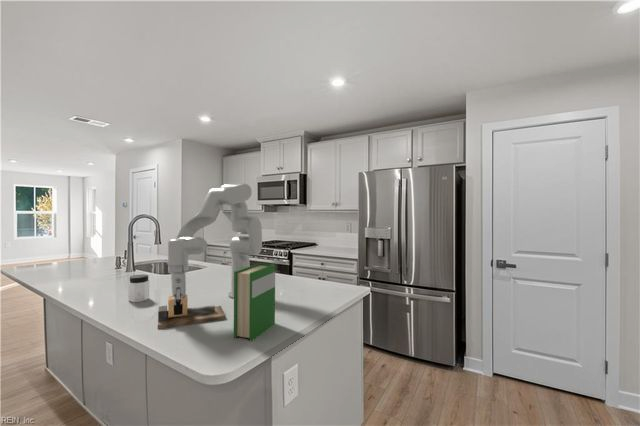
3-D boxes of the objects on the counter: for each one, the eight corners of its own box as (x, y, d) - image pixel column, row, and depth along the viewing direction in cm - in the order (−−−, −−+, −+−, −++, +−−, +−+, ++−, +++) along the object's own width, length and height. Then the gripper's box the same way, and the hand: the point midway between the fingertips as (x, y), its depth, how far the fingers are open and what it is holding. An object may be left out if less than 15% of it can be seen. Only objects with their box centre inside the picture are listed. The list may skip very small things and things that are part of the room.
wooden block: (186, 310, 129) (187, 294, 129) (187, 315, 123) (187, 298, 123) (168, 313, 126) (168, 296, 126) (168, 317, 120) (168, 300, 120)
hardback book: (251, 341, 105) (252, 273, 105) (233, 338, 108) (234, 271, 107) (274, 323, 122) (275, 264, 122) (258, 321, 124) (259, 263, 124)
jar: (128, 303, 145) (128, 278, 145) (128, 299, 152) (128, 275, 152) (149, 300, 150) (150, 276, 150) (148, 296, 157) (148, 273, 157)
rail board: (220, 309, 139) (220, 297, 139) (225, 319, 126) (225, 306, 126) (159, 316, 128) (159, 303, 128) (157, 328, 115) (157, 314, 115)
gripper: (188, 271, 118) (188, 317, 118) (187, 264, 134) (187, 304, 134) (167, 273, 115) (167, 320, 115) (168, 265, 131) (168, 306, 131)
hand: (178, 311), depth 125 cm, fingers closed on wooden block, 6 cm apart
